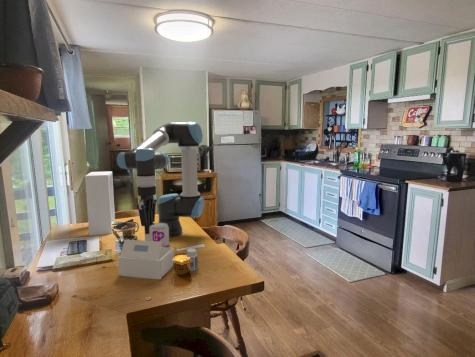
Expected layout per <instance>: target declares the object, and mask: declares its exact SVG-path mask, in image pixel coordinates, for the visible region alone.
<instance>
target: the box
mask: <svg viewBox="0 0 475 357" xmlns="http://www.w3.org/2000/svg"><path fill="white" fill-rule="evenodd" d="M84 180H85V182H84V183H85V193H86V194H85V195H86V207H87V208H86V210H87V211H86V212H87V226H88V235H89V236H98V235H108V234H109V235H111V234H113V232H112V230H111V226H112V224H113V223H114V222H115V223H116V213H115V212H116V211H115V200H114V199H115V197H114V196H115V195H114V181H113V180H114V179H113V171H112V170H111V171H109V170H108V171H106V170H105V171H91V172H89V173H87V174H85V175H84Z"/></svg>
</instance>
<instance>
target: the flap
mask: <svg viewBox="0 0 475 357" xmlns="http://www.w3.org/2000/svg"><path fill="white" fill-rule="evenodd" d="M161 244H162V242H157V241H145V240H140V239H139V240H137V239H126V238H125V239H124V242H123V244H122V247H121V251H120V255H119V256H120V257H133V258H146V259H158V258H159V253H160V249H161Z"/></svg>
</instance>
